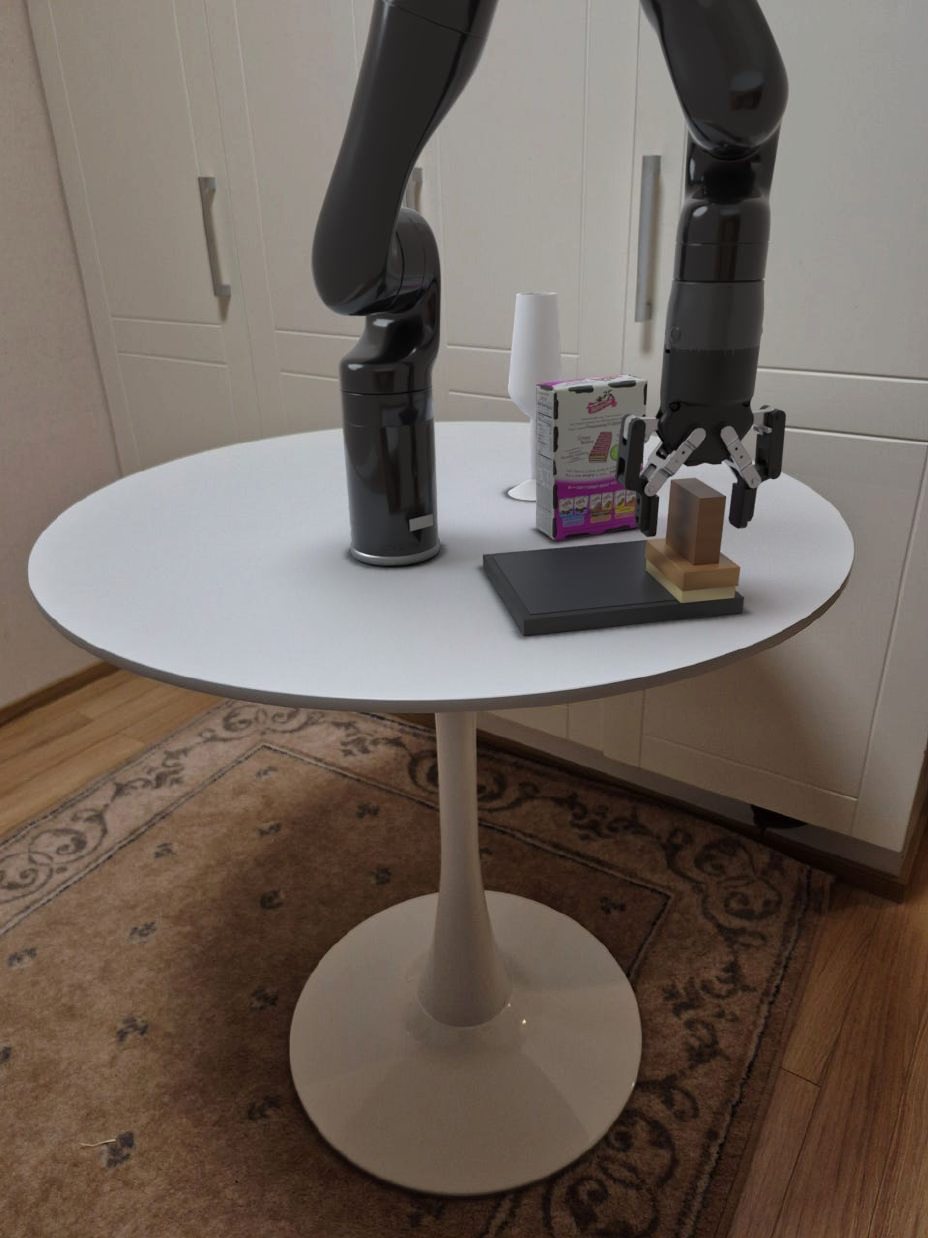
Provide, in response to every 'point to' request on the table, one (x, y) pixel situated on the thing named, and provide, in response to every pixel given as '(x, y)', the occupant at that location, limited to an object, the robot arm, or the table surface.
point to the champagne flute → (533, 365)
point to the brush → (693, 545)
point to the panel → (589, 589)
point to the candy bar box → (583, 455)
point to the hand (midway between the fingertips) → (692, 530)
